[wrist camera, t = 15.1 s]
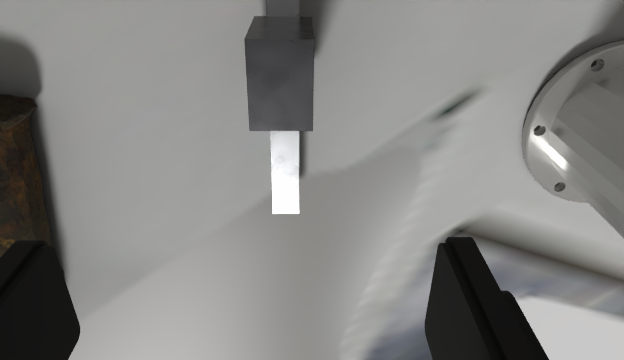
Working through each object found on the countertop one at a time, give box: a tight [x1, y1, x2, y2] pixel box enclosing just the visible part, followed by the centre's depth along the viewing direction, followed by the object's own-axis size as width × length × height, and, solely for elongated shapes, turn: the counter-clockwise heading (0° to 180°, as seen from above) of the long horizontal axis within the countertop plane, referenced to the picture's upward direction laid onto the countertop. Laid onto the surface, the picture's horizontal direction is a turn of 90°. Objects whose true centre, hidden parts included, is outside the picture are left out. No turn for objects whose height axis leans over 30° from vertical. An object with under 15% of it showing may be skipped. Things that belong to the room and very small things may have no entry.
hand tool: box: [0, 94, 63, 273], centre depth 36 cm, size 23×5×6 cm, turn 172°
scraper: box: [245, 0, 314, 214], centre depth 28 cm, size 4×24×8 cm, turn 179°
